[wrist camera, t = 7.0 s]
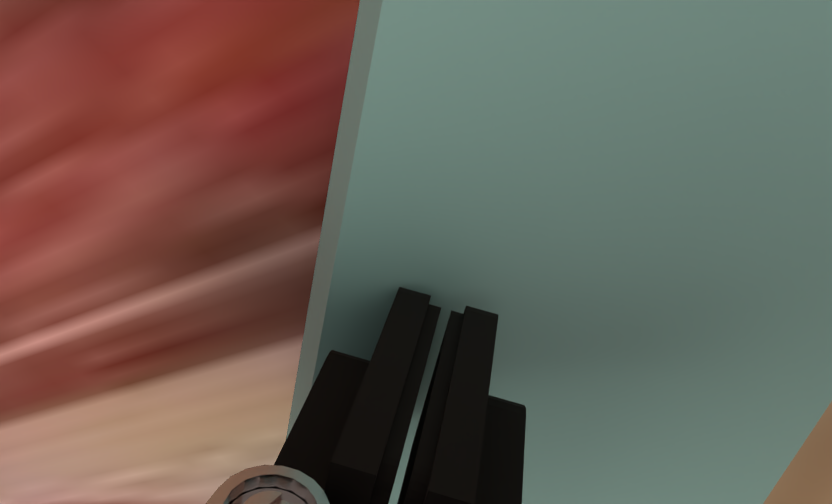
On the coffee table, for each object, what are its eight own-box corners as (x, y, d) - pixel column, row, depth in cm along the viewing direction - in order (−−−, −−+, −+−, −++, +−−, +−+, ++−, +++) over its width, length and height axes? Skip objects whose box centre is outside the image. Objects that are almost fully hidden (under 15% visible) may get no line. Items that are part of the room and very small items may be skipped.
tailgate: (1186, -129, 10) (460, -422, 7) (687, 617, 20) (256, 683, 16) (1053, -137, 12) (407, -374, 8) (649, 555, 21) (251, 601, 17)
